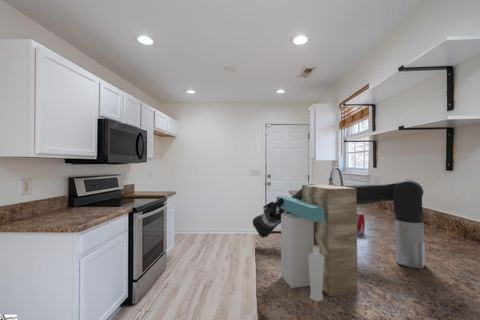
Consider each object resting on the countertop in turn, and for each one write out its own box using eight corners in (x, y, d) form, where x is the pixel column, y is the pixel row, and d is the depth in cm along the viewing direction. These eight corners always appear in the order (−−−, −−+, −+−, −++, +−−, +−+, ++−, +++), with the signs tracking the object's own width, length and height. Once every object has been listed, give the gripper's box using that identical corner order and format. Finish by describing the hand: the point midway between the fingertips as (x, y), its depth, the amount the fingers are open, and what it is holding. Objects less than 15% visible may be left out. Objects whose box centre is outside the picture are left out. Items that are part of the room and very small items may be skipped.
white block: (281, 276, 82) (281, 213, 83) (301, 274, 84) (301, 212, 85) (291, 287, 74) (291, 218, 75) (313, 284, 76) (313, 217, 77)
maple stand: (302, 272, 85) (302, 184, 86) (326, 269, 88) (325, 184, 89) (329, 296, 70) (328, 188, 71) (357, 291, 72) (356, 188, 73)
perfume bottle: (305, 293, 71) (305, 244, 71) (319, 293, 71) (319, 243, 72) (311, 302, 66) (311, 249, 67) (326, 301, 67) (325, 248, 67)
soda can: (366, 235, 132) (366, 214, 132) (353, 234, 133) (352, 213, 133) (362, 232, 139) (362, 212, 139) (349, 231, 140) (349, 211, 140)
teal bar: (276, 206, 92) (276, 196, 92) (285, 206, 93) (285, 196, 93) (312, 221, 67) (312, 207, 67) (324, 221, 68) (324, 207, 68)
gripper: (290, 222, 100) (308, 208, 86) (258, 224, 97) (272, 210, 83) (286, 206, 104) (303, 190, 90) (256, 207, 101) (268, 191, 86)
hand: (288, 200), depth 86 cm, fingers closed on teal bar, 4 cm apart
